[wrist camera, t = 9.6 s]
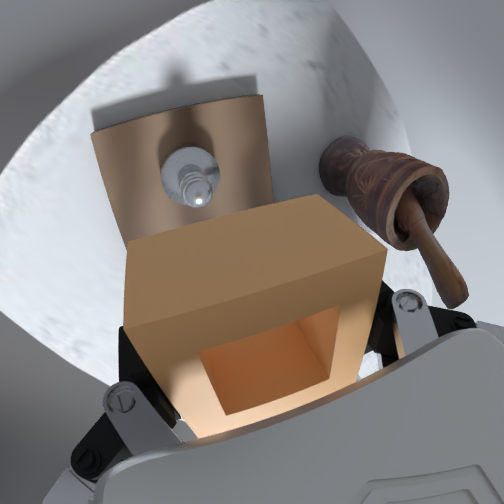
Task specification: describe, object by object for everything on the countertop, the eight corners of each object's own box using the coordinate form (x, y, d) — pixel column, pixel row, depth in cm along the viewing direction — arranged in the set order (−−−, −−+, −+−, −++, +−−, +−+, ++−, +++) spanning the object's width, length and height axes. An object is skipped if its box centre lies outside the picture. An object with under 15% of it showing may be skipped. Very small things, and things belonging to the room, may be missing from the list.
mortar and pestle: (387, 187, 37) (502, 263, 21) (343, 227, 39) (449, 325, 22) (353, 119, 31) (503, 176, 15) (300, 164, 32) (437, 257, 16)
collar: (317, 193, 11) (387, 248, 7) (314, 321, 14) (355, 382, 11) (127, 241, 9) (123, 329, 6) (181, 363, 13) (198, 438, 10)
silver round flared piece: (210, 138, 26) (229, 155, 20) (219, 190, 29) (239, 220, 23) (155, 152, 25) (155, 172, 19) (167, 203, 28) (173, 238, 22)
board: (255, 94, 26) (262, 95, 25) (276, 294, 41) (281, 304, 39) (94, 131, 23) (90, 134, 22) (163, 327, 38) (164, 338, 36)
